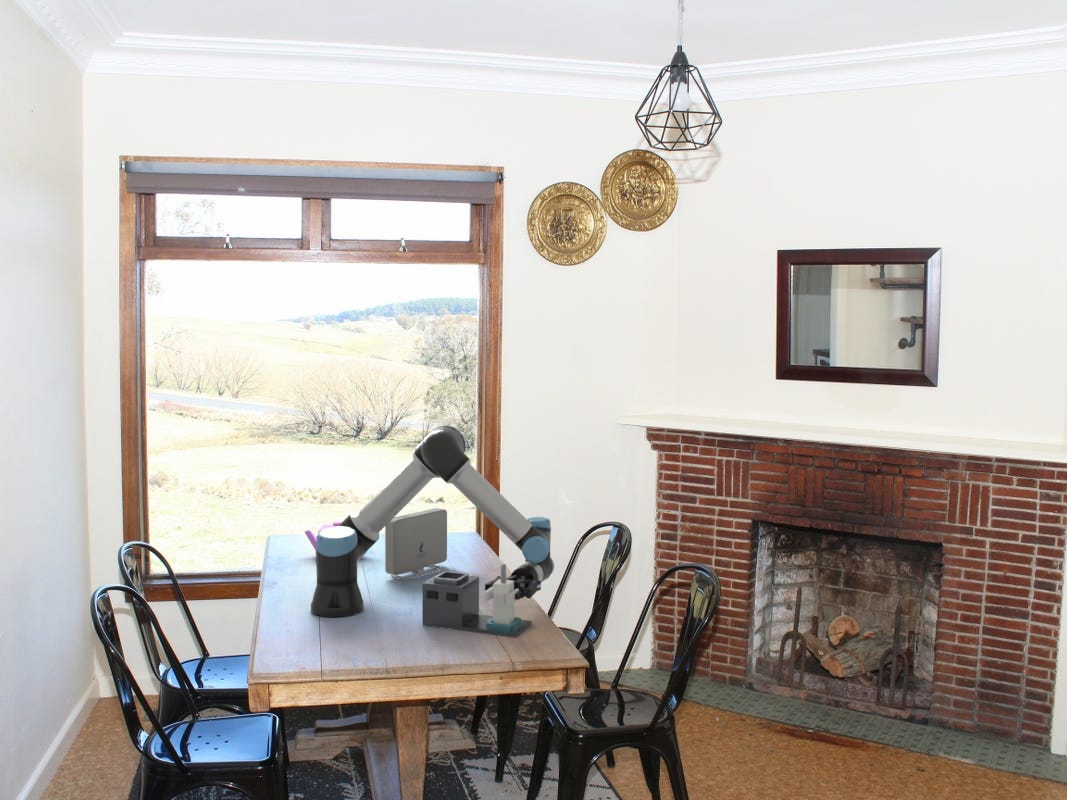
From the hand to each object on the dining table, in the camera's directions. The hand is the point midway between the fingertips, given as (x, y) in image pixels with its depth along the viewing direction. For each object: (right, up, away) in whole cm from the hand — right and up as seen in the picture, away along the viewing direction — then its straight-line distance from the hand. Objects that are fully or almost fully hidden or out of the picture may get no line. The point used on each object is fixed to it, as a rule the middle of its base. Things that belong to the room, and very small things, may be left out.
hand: (497, 598), depth 269 cm
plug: (+2, -8, +6) cm, 10 cm away
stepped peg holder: (-6, -9, +8) cm, 14 cm away
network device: (-29, -4, +63) cm, 69 cm away
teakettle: (-60, -2, +83) cm, 103 cm away
